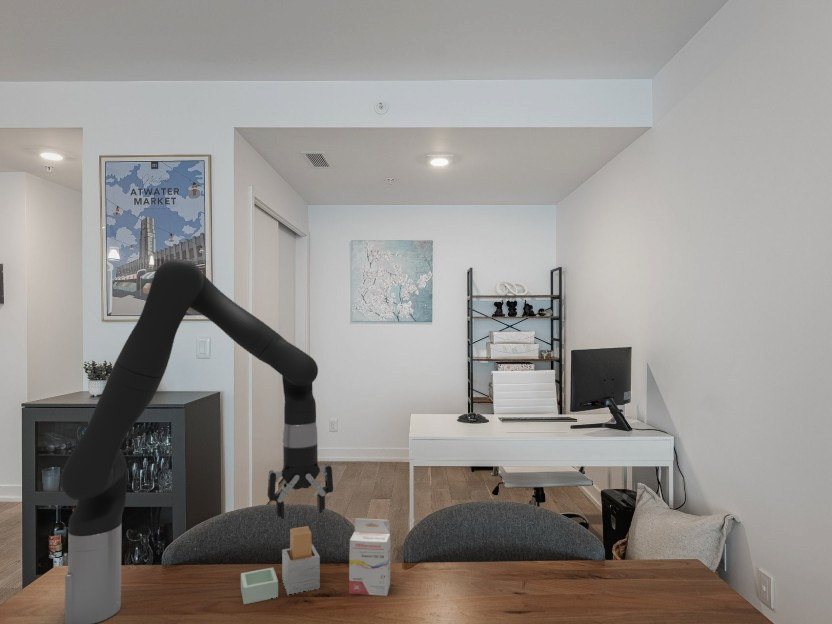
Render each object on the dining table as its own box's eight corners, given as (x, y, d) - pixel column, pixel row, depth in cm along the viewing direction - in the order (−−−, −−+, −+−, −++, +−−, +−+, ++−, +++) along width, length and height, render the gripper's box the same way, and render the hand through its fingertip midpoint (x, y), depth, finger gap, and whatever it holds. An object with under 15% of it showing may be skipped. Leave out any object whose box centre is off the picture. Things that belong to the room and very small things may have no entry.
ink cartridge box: (348, 594, 112) (348, 525, 112) (353, 583, 117) (353, 517, 117) (387, 596, 111) (387, 527, 111) (391, 585, 116) (390, 518, 116)
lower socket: (243, 604, 108) (243, 588, 108) (240, 589, 115) (240, 573, 115) (278, 597, 111) (278, 581, 111) (273, 582, 117) (273, 567, 117)
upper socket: (287, 595, 112) (287, 562, 112) (282, 580, 118) (282, 549, 118) (319, 588, 115) (319, 556, 115) (312, 574, 121) (312, 544, 121)
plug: (293, 572, 114) (293, 535, 114) (290, 564, 117) (290, 528, 118) (311, 568, 115) (311, 532, 116) (307, 561, 119) (307, 526, 119)
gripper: (270, 449, 111) (270, 526, 110) (335, 442, 116) (336, 515, 116) (265, 442, 118) (266, 514, 117) (327, 436, 123) (328, 504, 123)
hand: (301, 514), depth 117 cm, fingers open, 8 cm apart
